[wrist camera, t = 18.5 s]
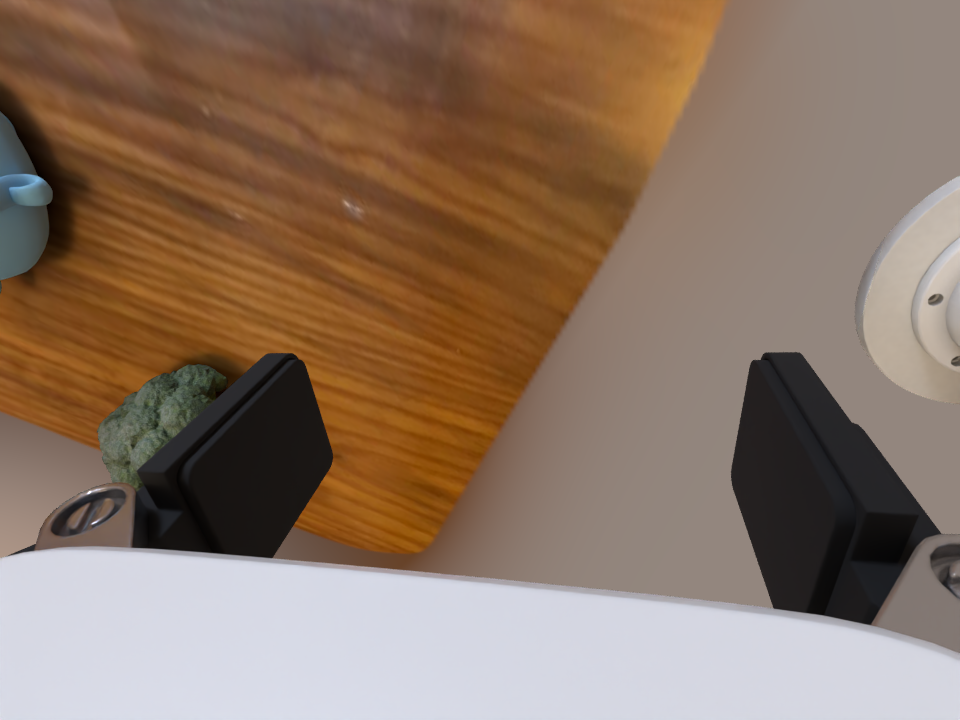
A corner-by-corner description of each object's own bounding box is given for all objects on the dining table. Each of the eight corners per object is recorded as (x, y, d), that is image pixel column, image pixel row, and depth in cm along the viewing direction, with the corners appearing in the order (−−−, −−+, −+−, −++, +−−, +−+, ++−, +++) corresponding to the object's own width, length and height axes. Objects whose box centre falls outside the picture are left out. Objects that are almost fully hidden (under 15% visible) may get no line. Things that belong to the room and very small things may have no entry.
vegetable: (255, 510, 53) (80, 487, 45) (290, 391, 55) (130, 350, 48) (281, 537, 43) (61, 514, 35) (322, 389, 45) (126, 338, 38)
